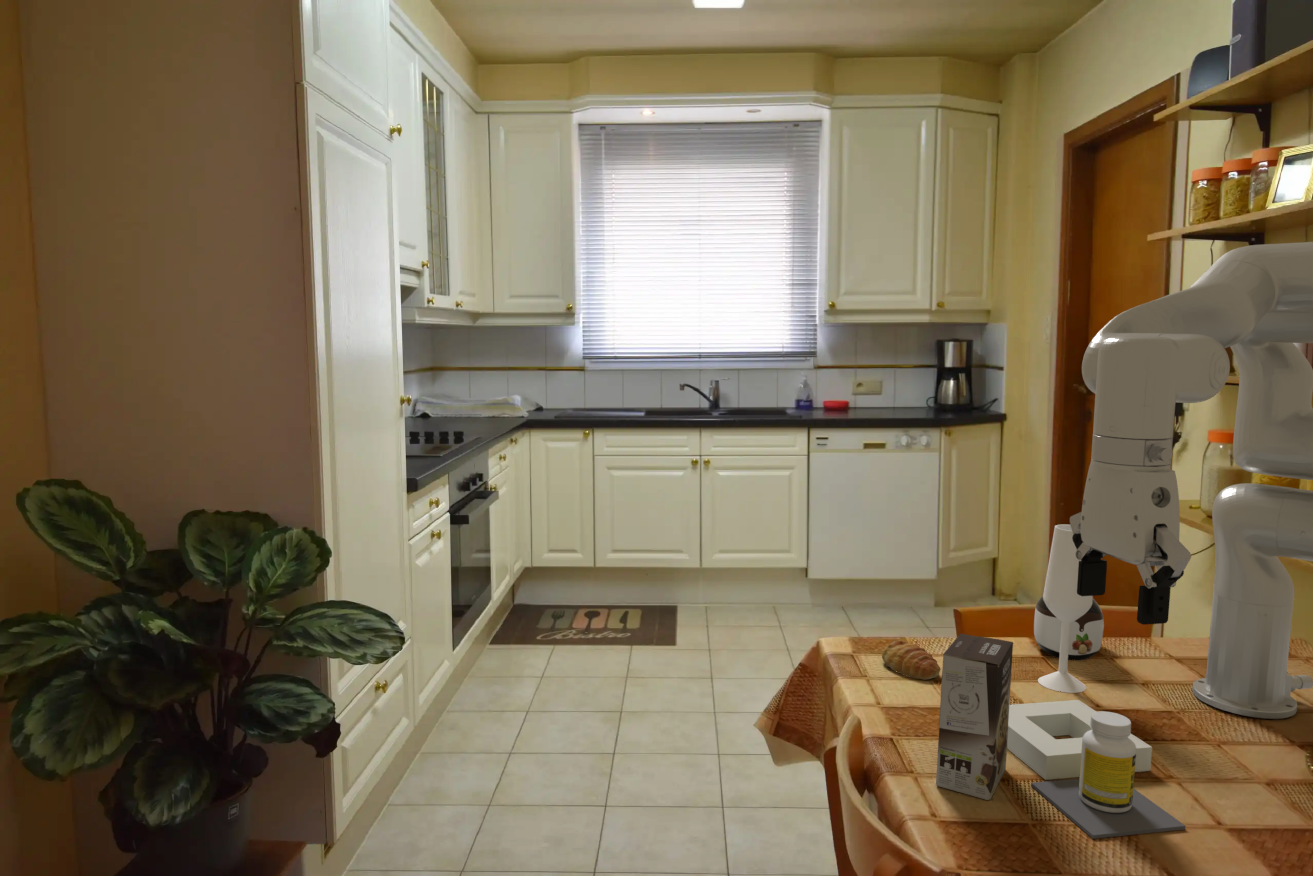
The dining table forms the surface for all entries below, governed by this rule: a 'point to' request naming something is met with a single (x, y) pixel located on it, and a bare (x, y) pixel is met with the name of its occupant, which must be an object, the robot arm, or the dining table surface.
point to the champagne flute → (1064, 603)
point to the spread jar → (1082, 632)
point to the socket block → (1057, 756)
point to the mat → (1107, 824)
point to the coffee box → (974, 715)
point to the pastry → (910, 660)
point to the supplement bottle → (1108, 763)
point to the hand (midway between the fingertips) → (1120, 608)
